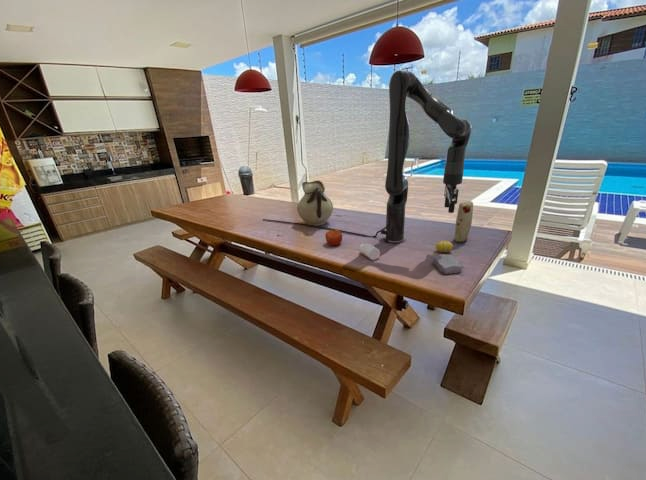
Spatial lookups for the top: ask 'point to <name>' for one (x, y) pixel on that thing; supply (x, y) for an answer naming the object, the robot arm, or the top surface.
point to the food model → (463, 221)
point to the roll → (370, 251)
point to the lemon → (444, 246)
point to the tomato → (333, 237)
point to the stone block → (447, 264)
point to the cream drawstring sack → (314, 204)
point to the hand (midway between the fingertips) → (448, 209)
